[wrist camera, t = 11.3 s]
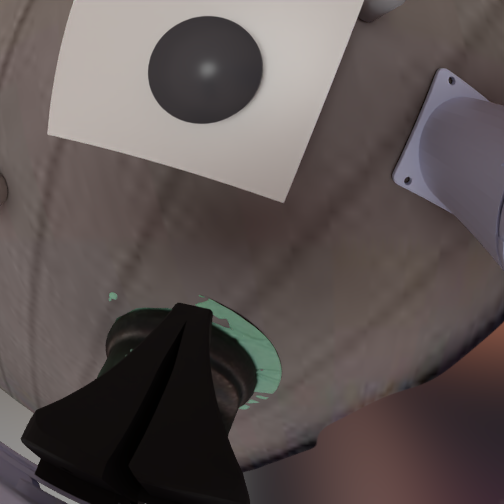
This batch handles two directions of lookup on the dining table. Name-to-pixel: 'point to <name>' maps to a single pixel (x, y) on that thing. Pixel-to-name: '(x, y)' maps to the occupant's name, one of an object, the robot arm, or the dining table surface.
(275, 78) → the camera case
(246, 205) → the dining table surface
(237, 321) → the dark green fedora
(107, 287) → the dining table surface
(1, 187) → the milkshake
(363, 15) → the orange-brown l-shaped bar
